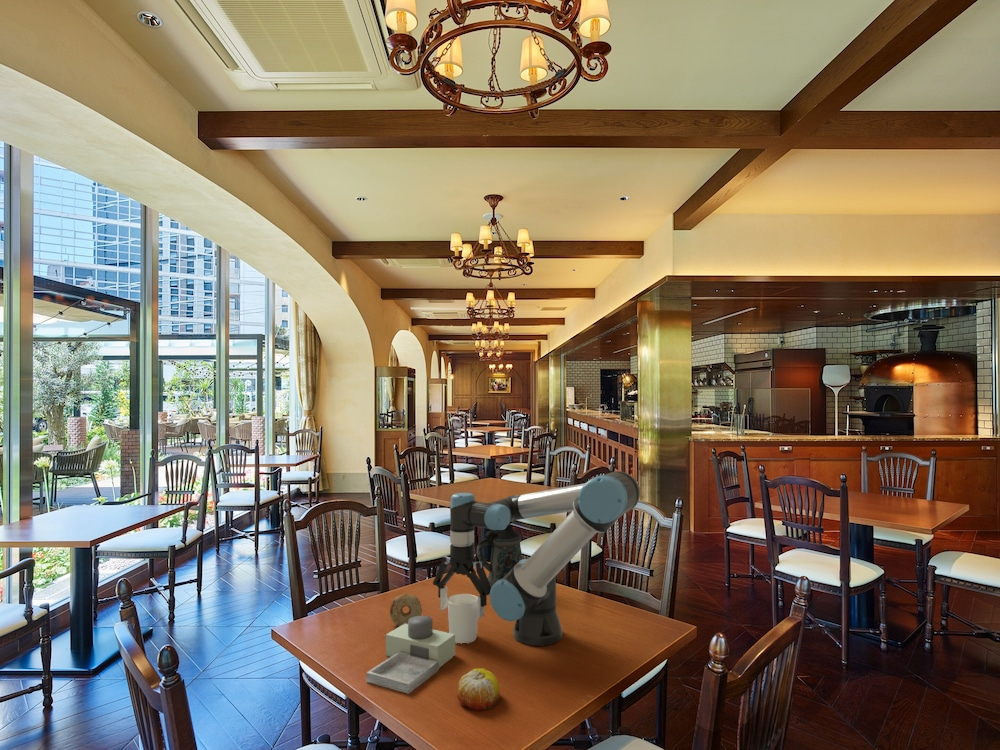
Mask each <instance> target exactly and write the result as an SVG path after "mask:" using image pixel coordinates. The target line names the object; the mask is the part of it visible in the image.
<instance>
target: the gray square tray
mask: <svg viewBox="0 0 1000 750" xmlns="http://www.w3.org/2000/svg"><path fill="white" fill-rule="evenodd" d="M439 669H440V667H439V662H438V661H434V660H430V659H426V658H422V657H418V656H414V655H410V654H406V653H402V652H398V653H396V654H394V655H393V656H391V657H388V658H386V659H385V660H384V661H382V662H381V663H379V664H377V665H376V666H374V667H373V668H371V669H370V670H368V671H367V672H366V673H365V674H366V679H365V680H366V683H369V684H373V685H376V686H380V687H382V688H387V689H390V690H394V691H396V692H399V693H400V692H401V693H404V694H406V695H408V694H410V693H412V692H413V691H414V690H416V689H417V688H418V687H419V686H420V685H422V684H424V683H425V682H426V681H427V680H428V679H430V678H431V677H432V676H434V675H435V674H436V673H438V672H439V671H440V670H439Z"/></svg>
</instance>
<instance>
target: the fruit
mask: <svg viewBox="0 0 1000 750" xmlns="http://www.w3.org/2000/svg"><path fill="white" fill-rule="evenodd" d="M500 689H501V688H500V684H499V682H498V679H497V677H496V676H495V675H494V673H493V672H491V671H490V670H487V669H486V668H483V667H482V668H479V667H478V668H473V669H471V670H470V671H469V672H467V673H465V674H463V675H462V676H461V677H460V679H459V681H458V684H457V691H456V694H457V695H456V697H457V699H458V701H459V703H460V704H461V705H462V706H463V707H467V708H468V709H469V710H475V711H484V710H490V709H492V708H493V707H494V706H496V705H497V704H498V703H499V699H500V695H501V694H500V693H501V692H500V691H501V690H500Z"/></svg>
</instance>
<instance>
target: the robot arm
mask: <svg viewBox="0 0 1000 750" xmlns="http://www.w3.org/2000/svg"><path fill="white" fill-rule="evenodd" d="M640 498H641V488H640V485H639V483H638V481H637V480H636V478H635V477H633V476H632V474H630V473H628V472H626V471H620V470H617V471H612V472H609V473H606V474H605V473H604V474H601V475H600V474H599V475H597V476H594V477H593V478H590V479H589V480H587V481H586V482H585V483H580V484H574V485H573V484H572V485H567V486H563V487H556V488H551V489H545V490H540V491H534V492H529V493H524V494H523V493H522V494H514V495H509V496H507V497H504V498H502V499H497V500H493V501H491V502H481V501H477V500H476V499H475V495H474V494H473V493H470V492H458V493H457V492H455V493H453V494H452V495H451V497H450V507H449V510H450V512H449V515H450V527H449V528H450V533H449V536H450V537H449V541H450V545H449V555H450V557H449V555H445V556H443V557H442V558H441V563H440V566H439V568H438V571H437V573H436V575H435V577H434V579H433V581H432V585H433V586H436V587H437V588H438V591H437V592H438V594H437V596H438V599H440V603H439V605H440V606H439V610H440V611H443V610H445V609H448V604H447V599H448V586H446V585H447V584H448V581H449V580H451V578H452V577H453V576H454V575H462V576H466V577H467V578H469V580H470V582H471V583H472V585H473V587H474V588H475V589H476V591H477V593H478V594H479V595H477V597H478V619H481V618H482V617H483V616H485V606H487V605H488V604H487V596H489V599H490V600H489V601H490V605H491V608H492V609H493V612H494V613H495V614H496V615H497V616H498V617H499V618H500V619H501V620H504V621H507V622H515V623H514V625H513V637H514V639H515V640H516V641H517V642H519V643H522V644H525V645H529V646H541V647H542V646H549V645H553V644H556V643H558V642H559V641H561V639H562V638H563V627H562V623H561V622H560V618H559V615H558V613H557V575H558V574H559V573H560V572H561V571H562V569H564V568H565V566H567V565H568V563H569V562H570V561H571V560H572V559H573V558H574V557H575V556H576V555H577V554H578V553H579V552H580V551H581V550H582V549H583V547H585V545H586V544H587V543H588V542H589V541H590V540H591V539H592V538H593V537H595V536H596V534H597V533H599V534H604V533H605V534H606V532H607V531H608V530H609V529H610V528H611V527H612V526H613V525H614V524H615V523H616V521H618V520H619V519H620V518H621V517H622V516H623V515H625V514H627V513H629V512H630V511H632V510H634V508H635V507H636V506H637V505H638V503H639V501H640ZM569 512H570V513H569ZM563 513H564V514H565V513H569V514H568V515H567V516H566V517H565V518H564V520H562V522H561V523H560V524H559V525H558V526H557V527H556V528H555V529H554V530H553V532H551V534H549V536H548V537H547V538H546V539H545V540H544V541H543V542H542V543H541V545H540V546H539V547H538V548H537V549H536V550H535V551H534V552H533V553H532V555H530V557H529V558H524V559H523V558H522V559H523V560H520V561H519V563H517V564H516V565H515V566H514V567H513V568H512V569H511V570H510V572H509V573H508V574H507V575H506V576H505V577H504V578H503V579H500V580H498V581H496V583H495V584H494V585H493V586H492V588H491V586H490V583H489V581H488V576H487V573H486V571H485V567H484V566H483V561H475V558H474V557H475V544H474V543H475V528H476V527H477V528H482V529H488V530H490V531H491V530H504V529H506V527H507V526H508V525H510V522H514V521H519V520H525V519H532V518H536V517H544V516H549V515H557V514H563ZM449 564H450V565H451V567H450V569H449V570H448V572H447V573H446V570H447V567H448V565H449ZM445 573H446V574H445ZM455 573H456V574H455ZM444 574H445V575H444Z"/></svg>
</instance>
